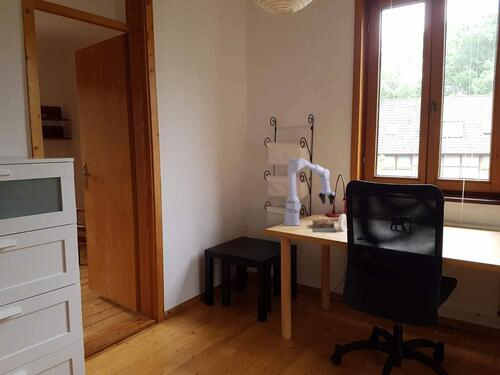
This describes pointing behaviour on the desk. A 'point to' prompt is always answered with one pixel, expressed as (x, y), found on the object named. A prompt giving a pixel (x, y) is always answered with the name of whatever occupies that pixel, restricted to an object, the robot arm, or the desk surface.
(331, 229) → the mat
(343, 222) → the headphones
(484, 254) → the desk surface
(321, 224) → the deck
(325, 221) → the tile
